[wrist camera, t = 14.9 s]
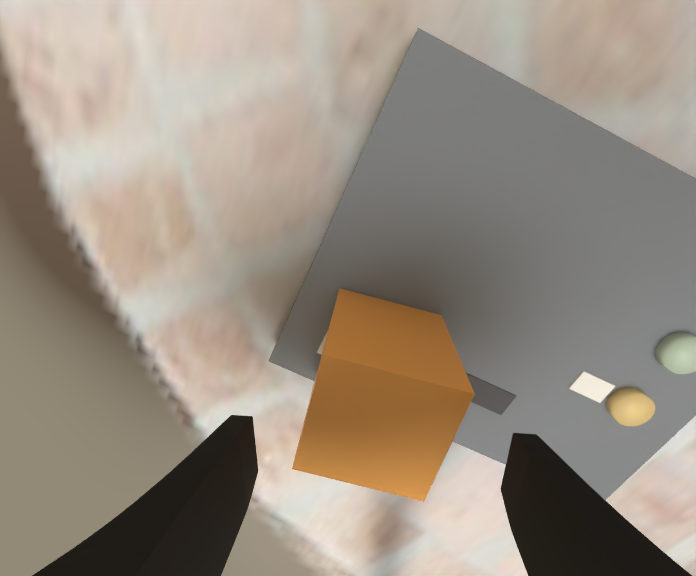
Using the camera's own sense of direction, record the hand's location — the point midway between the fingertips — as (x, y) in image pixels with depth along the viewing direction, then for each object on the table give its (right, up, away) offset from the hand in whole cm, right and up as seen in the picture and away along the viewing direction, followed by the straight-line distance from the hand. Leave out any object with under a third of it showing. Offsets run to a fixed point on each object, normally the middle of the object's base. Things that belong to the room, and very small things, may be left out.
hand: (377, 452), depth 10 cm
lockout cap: (0, +2, +6) cm, 6 cm away
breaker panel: (+7, +4, +6) cm, 10 cm away
